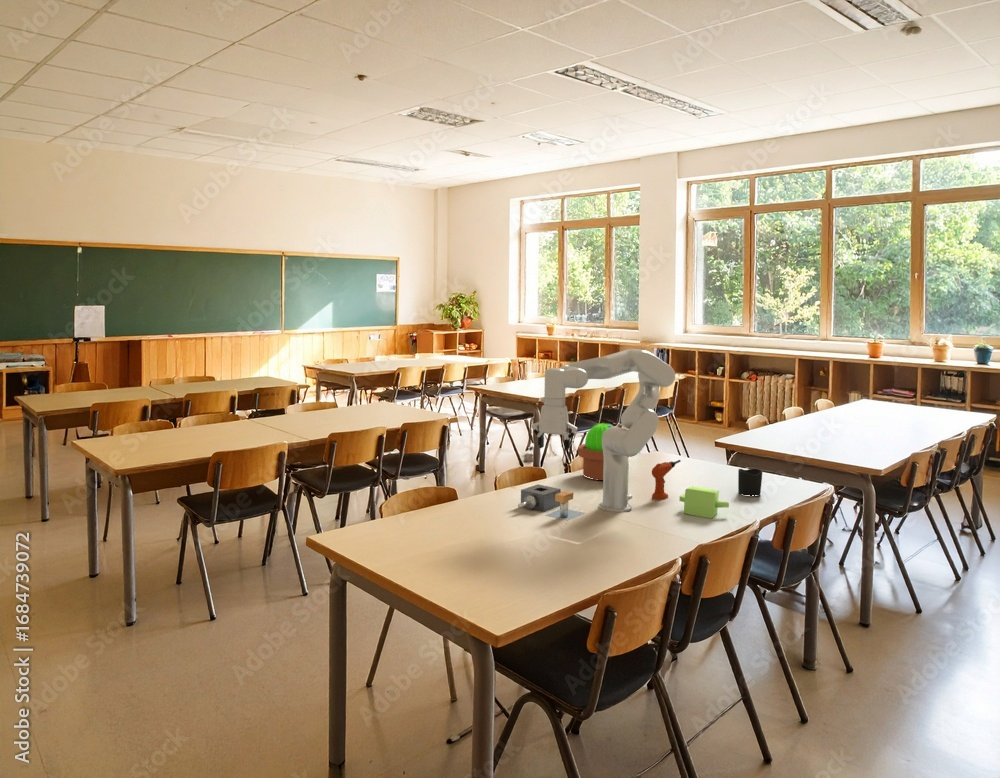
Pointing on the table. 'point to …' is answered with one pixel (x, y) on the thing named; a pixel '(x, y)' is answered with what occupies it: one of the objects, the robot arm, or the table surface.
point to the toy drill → (661, 478)
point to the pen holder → (749, 481)
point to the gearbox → (702, 501)
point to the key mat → (571, 514)
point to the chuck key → (564, 502)
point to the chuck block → (539, 497)
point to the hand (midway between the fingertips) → (553, 448)
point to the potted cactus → (593, 452)
